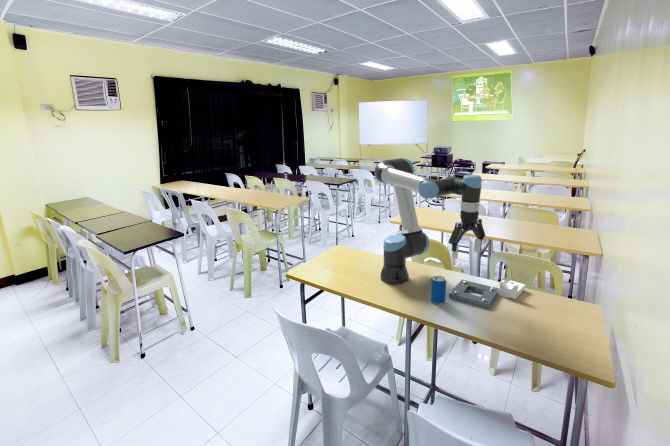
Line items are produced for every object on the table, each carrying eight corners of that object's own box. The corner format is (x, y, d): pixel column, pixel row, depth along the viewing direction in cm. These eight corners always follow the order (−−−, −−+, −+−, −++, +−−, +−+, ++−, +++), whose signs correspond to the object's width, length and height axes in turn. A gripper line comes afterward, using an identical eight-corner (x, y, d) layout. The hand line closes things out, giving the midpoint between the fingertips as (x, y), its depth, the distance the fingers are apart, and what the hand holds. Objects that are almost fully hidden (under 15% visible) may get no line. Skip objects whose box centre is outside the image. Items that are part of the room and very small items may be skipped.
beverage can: (435, 296, 165) (436, 274, 161) (447, 301, 160) (448, 278, 157) (428, 302, 160) (428, 278, 157) (440, 306, 156) (441, 282, 153)
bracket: (514, 300, 159) (516, 286, 157) (498, 296, 164) (500, 281, 162) (524, 291, 167) (526, 276, 165) (509, 286, 172) (511, 272, 170)
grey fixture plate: (448, 298, 163) (449, 292, 162) (461, 283, 176) (462, 278, 176) (488, 309, 152) (489, 303, 151) (499, 293, 166) (499, 287, 165)
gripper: (454, 216, 143) (451, 263, 149) (496, 208, 153) (491, 252, 159) (442, 212, 149) (439, 257, 155) (483, 204, 159) (479, 247, 166)
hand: (465, 254), depth 157 cm, fingers open, 13 cm apart
